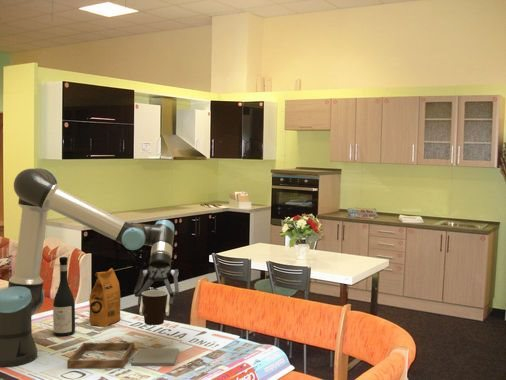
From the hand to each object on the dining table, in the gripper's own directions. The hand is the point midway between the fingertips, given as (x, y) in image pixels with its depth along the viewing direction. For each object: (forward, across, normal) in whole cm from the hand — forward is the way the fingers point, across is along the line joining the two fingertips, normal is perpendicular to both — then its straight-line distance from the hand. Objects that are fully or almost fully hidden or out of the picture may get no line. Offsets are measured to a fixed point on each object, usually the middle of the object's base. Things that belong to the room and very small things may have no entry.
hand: (154, 313), depth 180 cm
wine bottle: (-10, +40, -34) cm, 53 cm away
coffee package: (-21, +28, -44) cm, 57 cm away
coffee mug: (0, 0, -5) cm, 5 cm away
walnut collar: (+9, +18, -14) cm, 24 cm away
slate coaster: (+9, 0, -14) cm, 17 cm away
